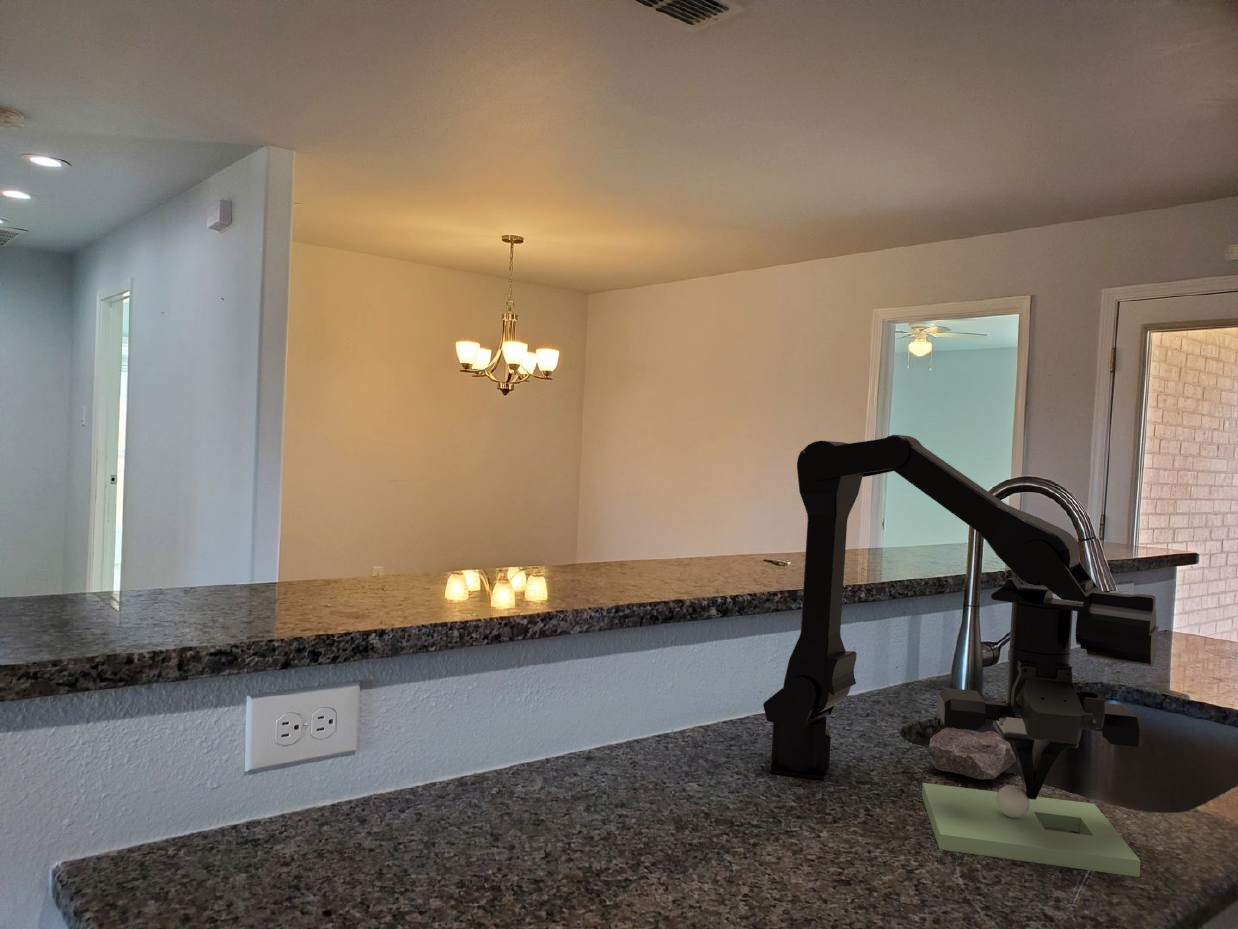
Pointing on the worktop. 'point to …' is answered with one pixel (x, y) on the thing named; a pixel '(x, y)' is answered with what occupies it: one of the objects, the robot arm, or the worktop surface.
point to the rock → (971, 753)
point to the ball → (1012, 801)
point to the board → (1028, 830)
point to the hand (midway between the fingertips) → (1030, 798)
